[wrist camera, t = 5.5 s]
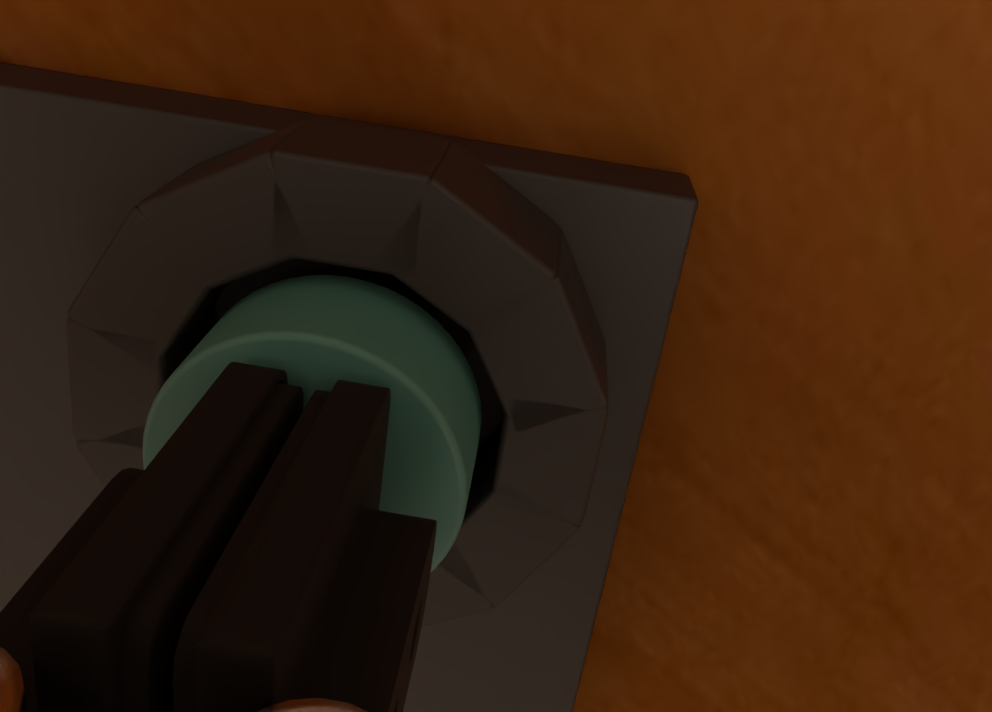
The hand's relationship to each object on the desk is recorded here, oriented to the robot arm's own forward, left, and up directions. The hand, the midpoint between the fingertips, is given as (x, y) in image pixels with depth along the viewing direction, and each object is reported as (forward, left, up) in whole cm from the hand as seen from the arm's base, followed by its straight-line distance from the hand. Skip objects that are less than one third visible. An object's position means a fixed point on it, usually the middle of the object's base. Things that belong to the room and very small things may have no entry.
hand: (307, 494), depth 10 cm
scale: (+3, +3, -4) cm, 6 cm away
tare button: (0, 0, -2) cm, 2 cm away
